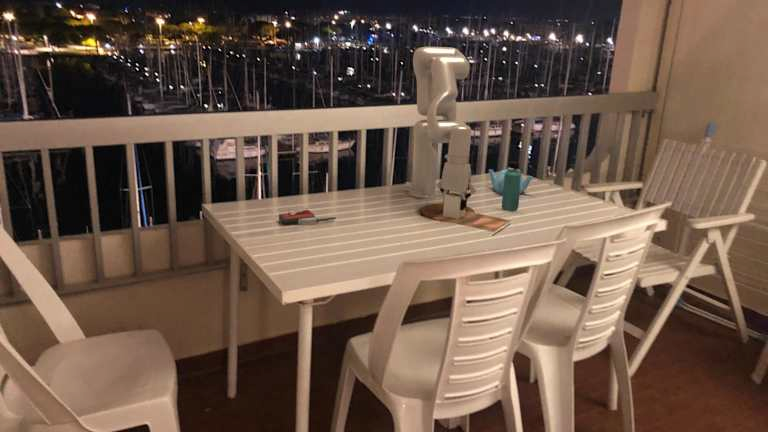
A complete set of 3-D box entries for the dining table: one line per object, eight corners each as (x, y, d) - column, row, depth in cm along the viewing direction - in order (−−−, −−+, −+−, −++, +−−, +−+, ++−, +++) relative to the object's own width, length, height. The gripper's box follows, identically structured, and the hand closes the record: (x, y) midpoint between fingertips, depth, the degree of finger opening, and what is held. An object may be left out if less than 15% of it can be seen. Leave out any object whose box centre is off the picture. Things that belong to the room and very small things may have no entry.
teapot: (485, 187, 270) (487, 163, 267) (517, 186, 273) (519, 163, 270) (497, 196, 256) (500, 172, 253) (531, 196, 259) (534, 171, 256)
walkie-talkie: (283, 229, 206) (337, 222, 215) (283, 217, 205) (337, 210, 214) (275, 221, 214) (327, 215, 223) (275, 209, 212) (327, 204, 222)
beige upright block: (442, 215, 222) (444, 194, 219) (450, 212, 227) (451, 191, 224) (457, 219, 219) (459, 197, 216) (464, 215, 224) (466, 194, 221)
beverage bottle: (517, 215, 231) (523, 164, 225) (500, 214, 232) (505, 163, 226) (517, 210, 237) (523, 160, 231) (500, 209, 238) (505, 159, 232)
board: (431, 221, 219) (432, 204, 217) (451, 211, 232) (452, 195, 230) (493, 235, 207) (494, 217, 205) (510, 224, 220) (512, 207, 218)
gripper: (432, 157, 218) (429, 205, 223) (476, 165, 209) (471, 214, 214) (441, 154, 224) (438, 201, 229) (484, 161, 215) (480, 210, 220)
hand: (454, 207), depth 222 cm, fingers closed on beige upright block, 6 cm apart
